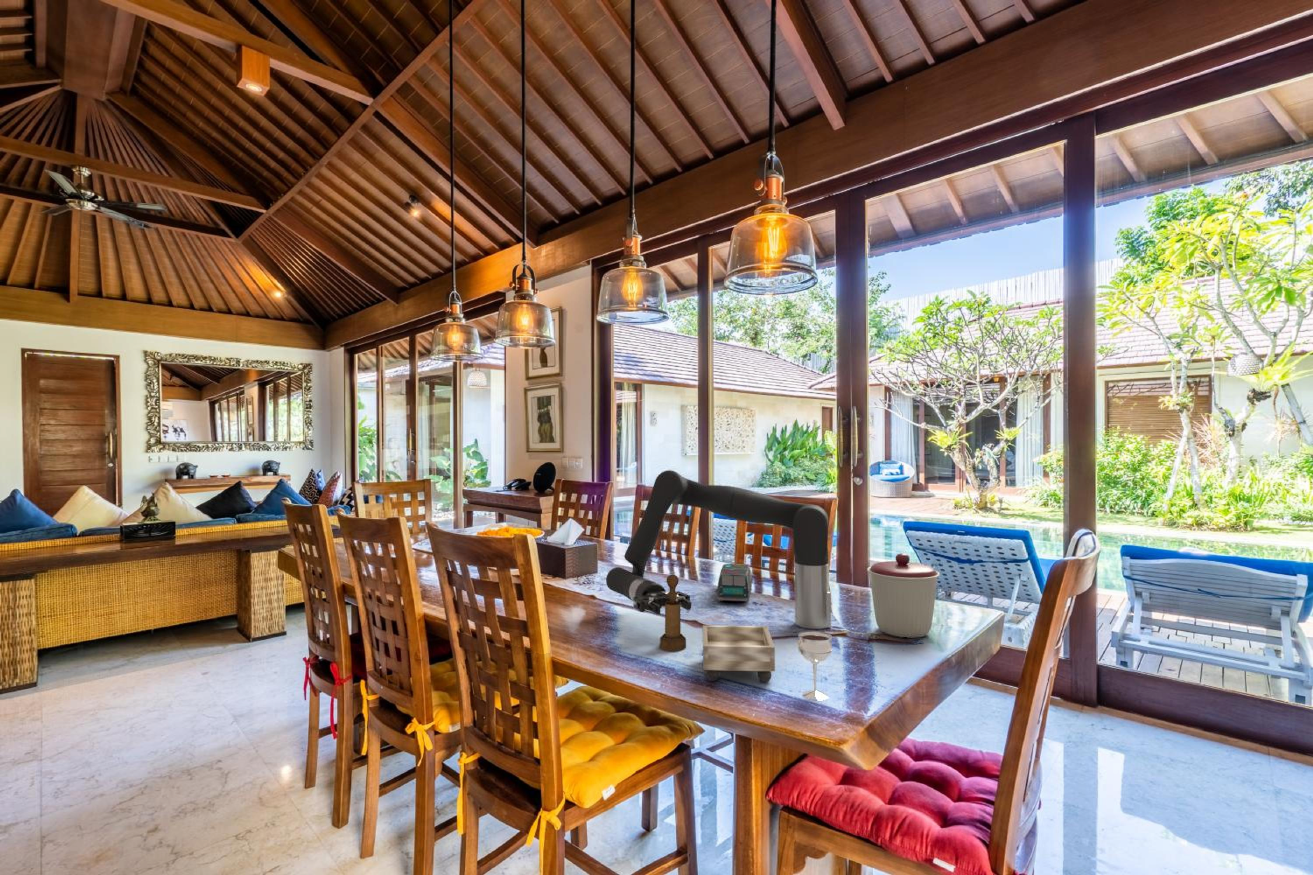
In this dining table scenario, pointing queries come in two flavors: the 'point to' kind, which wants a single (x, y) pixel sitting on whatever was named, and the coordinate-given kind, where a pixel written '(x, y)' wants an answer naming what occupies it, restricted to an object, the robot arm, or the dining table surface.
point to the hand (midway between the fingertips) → (674, 607)
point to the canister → (903, 596)
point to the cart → (738, 650)
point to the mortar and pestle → (672, 620)
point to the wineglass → (815, 655)
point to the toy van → (735, 583)
